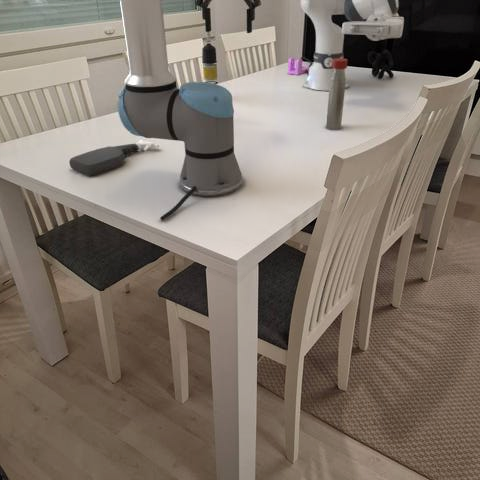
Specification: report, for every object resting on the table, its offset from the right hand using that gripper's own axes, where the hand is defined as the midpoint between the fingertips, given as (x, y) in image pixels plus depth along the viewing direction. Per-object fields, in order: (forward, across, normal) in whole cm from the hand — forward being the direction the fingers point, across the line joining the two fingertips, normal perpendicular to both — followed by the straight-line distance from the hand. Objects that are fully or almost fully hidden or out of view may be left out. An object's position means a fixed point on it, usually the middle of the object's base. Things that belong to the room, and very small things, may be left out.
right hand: (365, 30), depth 147 cm
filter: (+10, -57, +26) cm, 63 cm away
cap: (+21, 0, +6) cm, 22 cm away
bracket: (-52, -47, +24) cm, 75 cm away
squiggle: (-58, -9, +25) cm, 64 cm away
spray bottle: (+76, -43, +27) cm, 91 cm away
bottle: (+20, -1, +27) cm, 34 cm away
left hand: (+31, -33, -2) cm, 46 cm away
